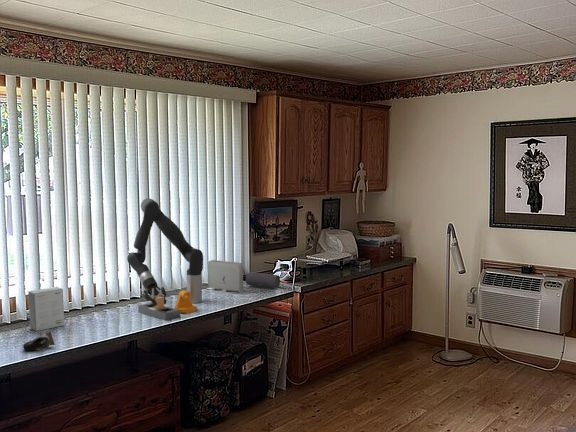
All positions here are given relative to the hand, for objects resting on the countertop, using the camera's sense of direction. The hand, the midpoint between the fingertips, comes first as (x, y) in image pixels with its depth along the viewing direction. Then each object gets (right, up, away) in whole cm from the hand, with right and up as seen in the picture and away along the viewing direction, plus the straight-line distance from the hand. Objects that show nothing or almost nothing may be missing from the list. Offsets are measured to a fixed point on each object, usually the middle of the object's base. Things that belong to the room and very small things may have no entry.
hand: (160, 304), depth 338 cm
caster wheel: (-44, -12, -60) cm, 76 cm away
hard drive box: (-54, -9, -24) cm, 60 cm away
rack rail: (-1, -6, +2) cm, 7 cm away
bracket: (+13, -6, +9) cm, 17 cm away
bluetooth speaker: (+55, 0, +74) cm, 92 cm away
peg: (-1, -6, +2) cm, 7 cm away
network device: (+30, -1, +62) cm, 69 cm away
